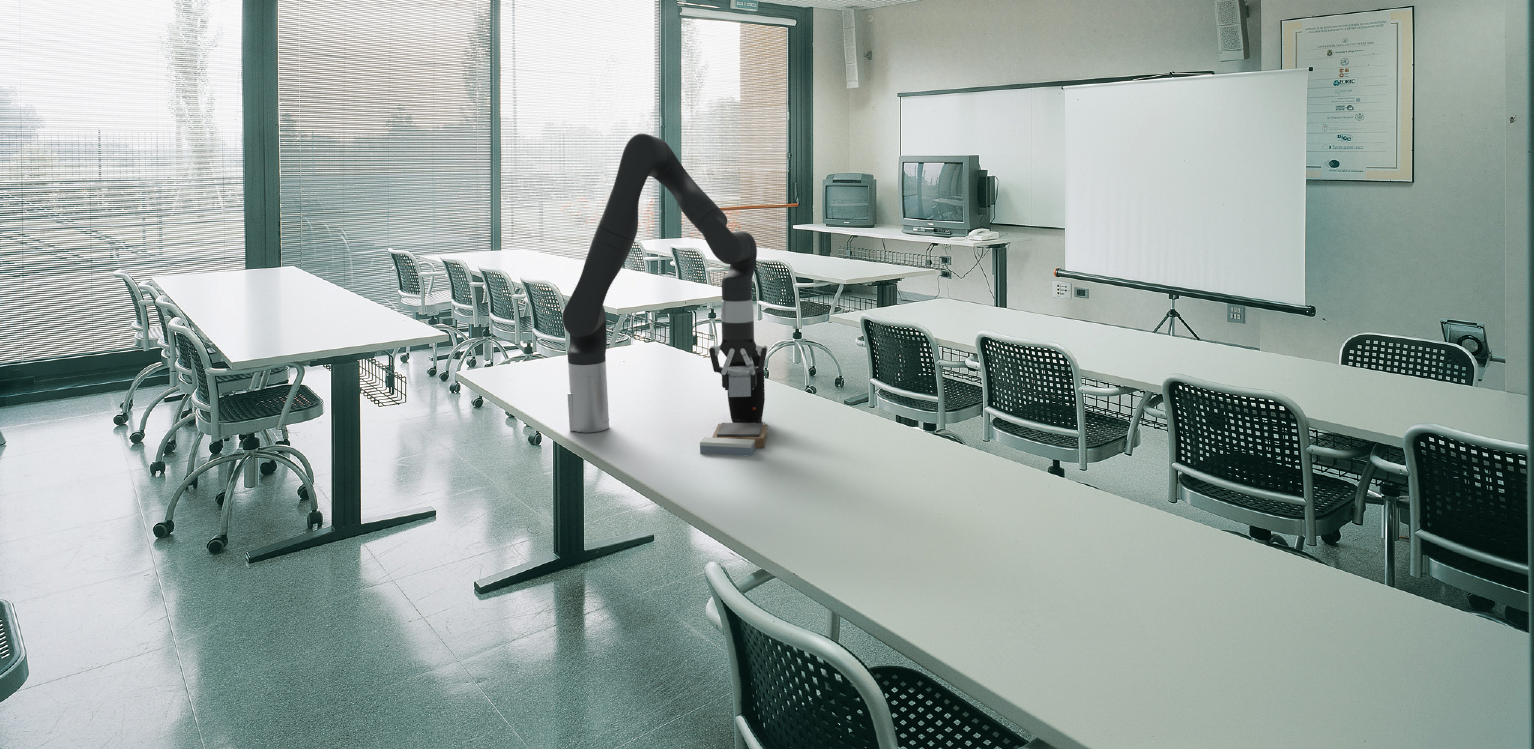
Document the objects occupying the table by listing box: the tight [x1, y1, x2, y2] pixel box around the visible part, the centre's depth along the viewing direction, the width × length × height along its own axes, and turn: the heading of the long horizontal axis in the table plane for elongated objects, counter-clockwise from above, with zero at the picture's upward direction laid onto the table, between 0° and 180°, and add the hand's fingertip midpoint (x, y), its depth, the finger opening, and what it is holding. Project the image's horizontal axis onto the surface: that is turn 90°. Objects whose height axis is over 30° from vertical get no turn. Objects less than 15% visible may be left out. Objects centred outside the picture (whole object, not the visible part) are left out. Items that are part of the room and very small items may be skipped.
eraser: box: [699, 436, 756, 457], centre depth 219 cm, size 12×4×3 cm, turn 78°
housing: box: [728, 366, 751, 397], centre depth 225 cm, size 10×5×5 cm, turn 3°
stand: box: [711, 422, 768, 449], centre depth 228 cm, size 12×12×3 cm
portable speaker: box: [727, 350, 766, 423], centre depth 242 cm, size 9×9×20 cm
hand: (739, 389), depth 226 cm, fingers closed on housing, 5 cm apart
